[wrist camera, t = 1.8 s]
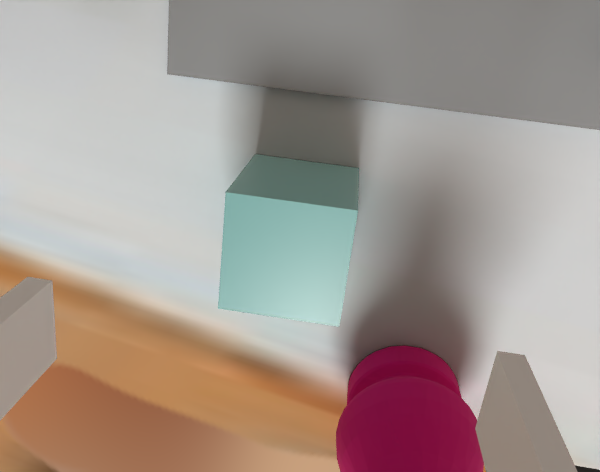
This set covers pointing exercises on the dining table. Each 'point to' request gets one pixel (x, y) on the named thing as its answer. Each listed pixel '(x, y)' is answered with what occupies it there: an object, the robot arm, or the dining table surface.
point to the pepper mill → (406, 417)
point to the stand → (403, 52)
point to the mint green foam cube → (288, 239)
